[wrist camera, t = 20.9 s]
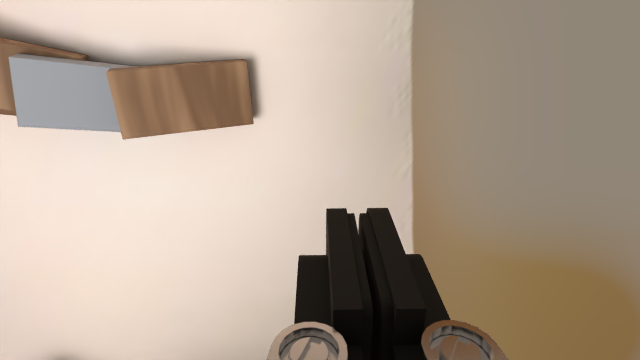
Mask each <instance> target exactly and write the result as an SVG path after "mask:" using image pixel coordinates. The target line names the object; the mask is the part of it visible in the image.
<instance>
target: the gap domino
mask: <svg viewBox="0 0 640 360" xmlns="http://www.w3.org/2000/svg"><path fill="white" fill-rule="evenodd" d="M9 64H10V71H11V78H12V86H13V93H14V100H15V107H16V114H17V121H18V127H36V128H55V129H74V130H93V131H112V132H121V130H120V126H119V122H118V118H117V114H116V110H115V106H114V102H113V98H112V94H111V90H110V86H109V82H108V78H107V74H106V71H108V70H109V69H111V68H125V67H137V66H128V65H118V64H109V63H100V62H91V61H82V60H73V59H64V58H55V57H46V56H37V55H27V54H16V55H13V56H10V57H9Z"/></svg>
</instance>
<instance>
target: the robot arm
mask: <svg viewBox="0 0 640 360" xmlns="http://www.w3.org/2000/svg"><path fill="white" fill-rule="evenodd" d="M267 360H509V359H508V358H507V357H506V355H505V354H504V353H503V351H502V350H501V349H500V347H499V346H498V345H497V343H496V342H495V341H494V340H493V339H492V338H491V337H490V336H489V335H488V334H487V333H485V332H483V331H482V330H481V329H479V328H478V327H475V326H473V325H470V324H468V323H465V322H460V321H455V320H450V318H449V315H448V313H447V311H446V309H445V307H444V305H443V302H442V300H441V298H440V295H439V293H438V291H437V289H436V286H435V284H434V282H433V280H432V278H431V275H430V273H429V271H428V269H427V266H426V264H425V262H424V260H423V258H422V256H421V255H419V254H405V251H404V249H403V246H402V244H401V241H400V238H399V236H398V233H397V231H396V228H395V225H394V223H393V220H392V218H391V215H390V212H389V210H388V208H367V212H366V213H360V215H359V235H358V230H357V225H356V220H355V215H354V213H351V214H347V210H346V208H337V209H327V211H326V255H299V261H298V276H297V291H296V306H295V321H294V325H291V326H290V327H288V328H286V329H284V330H283V331H282V332H281V333H280V334H279V335H278V336H276V338H275V340H274V342H273V343H272V345H271V348H270V351H269V354H268V357H267Z"/></svg>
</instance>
